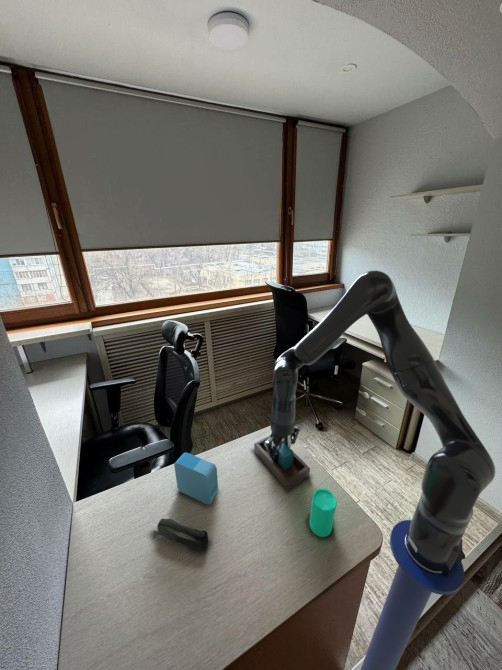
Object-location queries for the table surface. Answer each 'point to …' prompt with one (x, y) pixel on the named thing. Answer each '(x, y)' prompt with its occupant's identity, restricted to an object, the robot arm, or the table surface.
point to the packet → (285, 457)
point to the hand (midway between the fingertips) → (280, 457)
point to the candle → (322, 512)
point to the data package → (196, 477)
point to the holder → (287, 476)
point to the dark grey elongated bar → (182, 534)
